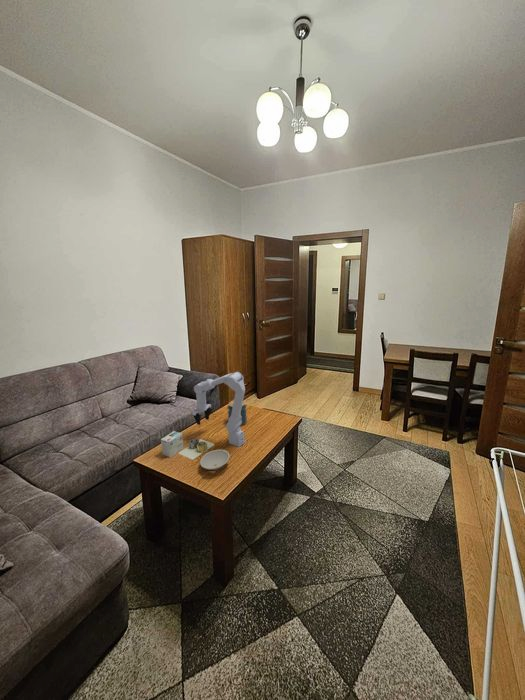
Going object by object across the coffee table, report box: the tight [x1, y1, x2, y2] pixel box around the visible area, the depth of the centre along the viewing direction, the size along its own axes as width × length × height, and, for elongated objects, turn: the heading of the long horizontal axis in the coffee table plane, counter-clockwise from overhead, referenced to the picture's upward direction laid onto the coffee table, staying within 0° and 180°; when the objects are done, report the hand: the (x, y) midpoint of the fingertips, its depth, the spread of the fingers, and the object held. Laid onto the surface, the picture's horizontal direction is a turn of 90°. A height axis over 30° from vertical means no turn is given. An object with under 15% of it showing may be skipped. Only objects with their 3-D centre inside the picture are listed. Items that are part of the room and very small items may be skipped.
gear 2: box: [197, 441, 208, 453], centre depth 168 cm, size 6×6×4 cm
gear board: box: [177, 438, 215, 460], centre depth 169 cm, size 13×18×5 cm
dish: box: [199, 449, 230, 471], centre depth 154 cm, size 18×14×5 cm
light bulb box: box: [160, 430, 184, 458], centre depth 167 cm, size 11×7×11 cm, turn 152°
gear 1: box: [188, 438, 200, 449], centre depth 172 cm, size 6×6×4 cm
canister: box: [227, 399, 248, 427], centre depth 201 cm, size 13×13×18 cm
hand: (202, 421), depth 183 cm, fingers open, 7 cm apart
